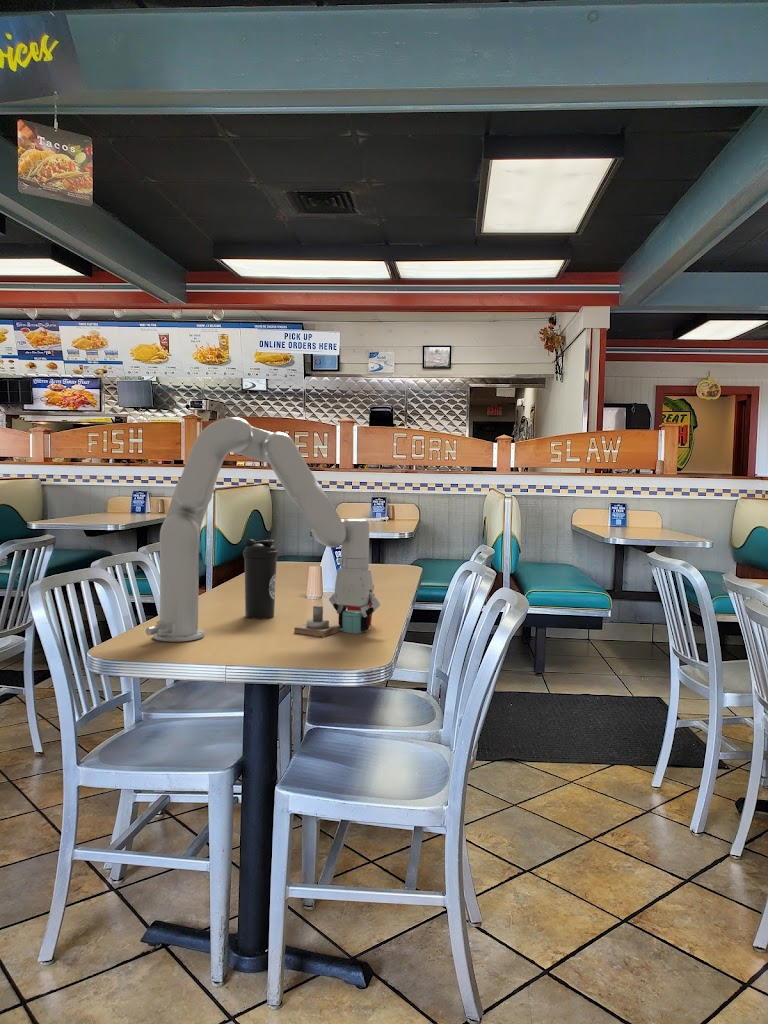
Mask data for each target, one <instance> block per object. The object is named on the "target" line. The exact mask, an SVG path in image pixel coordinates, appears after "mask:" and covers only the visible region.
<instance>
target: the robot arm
mask: <svg viewBox="0 0 768 1024" xmlns="http://www.w3.org/2000/svg"><path fill="white" fill-rule="evenodd" d="M230 453H234V454H237V455H240V456H244V457H246V458H250V459H253V460H257V461H259V462H262V463H267V464H269V466H270V467H271V469H272V470H273V473H274V474H275V476H276V477H277V478H278V481H279V482H280V484H281V486H282V487H283V489H284V491H285V492H286V494H287V495H288V497H289V498H290V500H291V501H292V502H293V503H294V504H296V505H297V507H298V508H299V509H300V510H301V511H302V512H303V514H304V516H305V517H306V518H307V520H308V522H309V524H310V525H311V526H312V529H311V532H312V533H311V534H312V536H313V538H314V540H315V541H316V542H317V543H319V544H321V545H323V546H325V547H328V548H336V547H339V546H340V545H341V546H340V547H341V549H340V550H341V551H340V555H341V556H340V558H337V564H339V565H340V567H338V569H337V573H336V577H335V583H334V593H333V594H332V595H331V596H330V597H329V598H328V602H330V604H331V605H332V606H333V608H334V609H335V611H336V614H337V615H338V621H337V622H338V624H337V625H340V626H341V627H340V630H342V615H343V611H347V606H354V607H360V608H361V611H362V614H363V617H361V631H362V633H365V632H366V631H369V628H370V626H369V616H370V615H371V614H372V615H373V613H374V612H375V611H376V610H377V609H378V608H379V607H380V606H381V602H380V601H379V600H378V598H376V596H375V595H373V594H374V590H373V585H374V583H373V576H372V572H371V571H372V569H369V567H370V566H369V565H370V564H369V562H370V558H369V557H370V522H369V520H367V519H364V518H346V519H341V516H340V515H339V513H338V511H337V510H336V508H335V506H334V504H333V503H332V502H331V500H330V498H329V497H328V496H327V494H326V492H325V491H324V489H323V488H322V486H321V485H320V483H319V482H318V480H317V479H316V478H315V476H314V474H313V473H312V470H311V469H310V467H309V465H308V463H307V462H306V460H305V458H304V457H303V455H302V453H301V451H300V450H299V449H298V446H297V445H296V443H295V442H294V440H293V439H292V437H291V436H290V435H288V433H285V432H282V431H276V432H272V431H271V432H270V431H268V430H264V429H262V428H261V429H260V428H257V427H255V426H252V425H251V424H250V423H249V422H248V421H247V420H246V419H244V418H241V417H235V416H234V417H233V416H232V417H226V418H220V419H218V420H215V421H213V422H211V423H210V424H208V425H207V426H206V427H205V428H204V429H203V430H201V431H200V433H199V434H198V436H197V437H196V439H195V441H194V443H193V445H192V446H191V450H190V451H189V454H188V456H187V460H186V462H185V465H184V468H183V470H182V472H181V476H180V477H179V480H178V481H177V483H176V485H175V489H174V490H173V491H174V492H173V495H172V498H171V500H170V503H169V506H168V509H167V511H166V515H165V517H164V520H163V522H162V524H161V527H160V531H159V620H157V621H156V624H155V626H150V627H147V628H146V629H145V633H146V635H147V636H152V637H153V639H154V640H156V641H160V642H172V643H175V642H176V643H177V642H189V641H195V640H199V639H202V638H203V637H204V636H205V631H204V630H203V629H200V628H199V587H200V586H199V585H200V584H199V580H200V579H199V573H200V572H199V571H200V570H199V569H200V567H199V563H200V535H201V534H200V530H201V527H202V524H203V520H204V519H205V516H206V512H207V510H208V507H209V504H210V503H211V500H212V499H213V498H212V497H213V494H214V488H215V485H216V483H217V480H218V475H219V473H220V471H221V468H222V466H223V463H224V460H225V459H226V457H227V455H228V454H230ZM371 604H373V605H372V606H371V607H369V605H371ZM364 631H365V632H364Z"/></svg>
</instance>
